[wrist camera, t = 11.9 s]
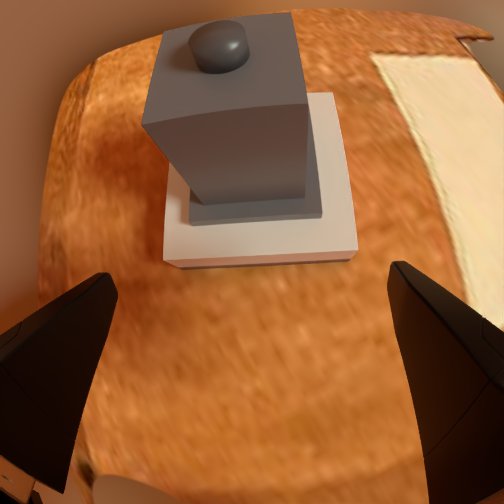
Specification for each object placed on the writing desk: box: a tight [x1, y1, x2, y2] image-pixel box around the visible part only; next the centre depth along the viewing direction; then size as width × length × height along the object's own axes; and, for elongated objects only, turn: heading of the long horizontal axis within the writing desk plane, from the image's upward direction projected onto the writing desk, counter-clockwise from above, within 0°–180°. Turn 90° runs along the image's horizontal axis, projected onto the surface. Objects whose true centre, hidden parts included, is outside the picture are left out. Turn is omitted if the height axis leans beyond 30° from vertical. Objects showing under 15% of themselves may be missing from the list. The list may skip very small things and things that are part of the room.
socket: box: [163, 92, 358, 270], centre depth 18 cm, size 10×10×3 cm
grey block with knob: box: [141, 12, 323, 226], centre depth 13 cm, size 7×7×11 cm
